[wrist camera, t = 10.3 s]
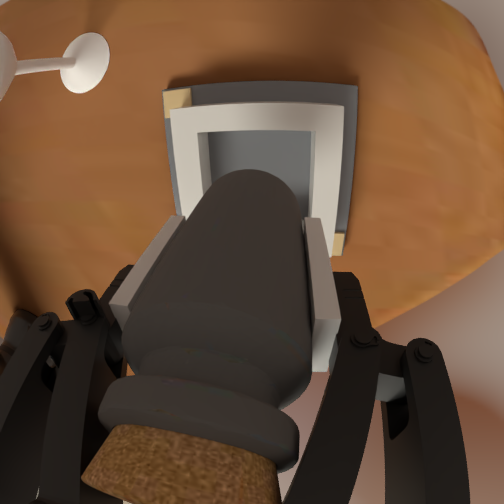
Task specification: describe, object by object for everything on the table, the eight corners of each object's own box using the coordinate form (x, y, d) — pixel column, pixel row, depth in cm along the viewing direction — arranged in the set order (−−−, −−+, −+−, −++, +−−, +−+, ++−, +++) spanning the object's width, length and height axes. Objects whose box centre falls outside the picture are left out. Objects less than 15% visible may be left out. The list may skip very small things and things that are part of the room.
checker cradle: (185, 246, 30) (173, 268, 26) (166, 89, 21) (146, 91, 18) (340, 250, 28) (347, 274, 25) (354, 86, 19) (368, 85, 16)
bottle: (182, 196, 16) (23, 448, 4) (271, 149, 14) (202, 522, 2) (233, 270, 19) (173, 516, 6) (316, 236, 17) (341, 527, 4)
